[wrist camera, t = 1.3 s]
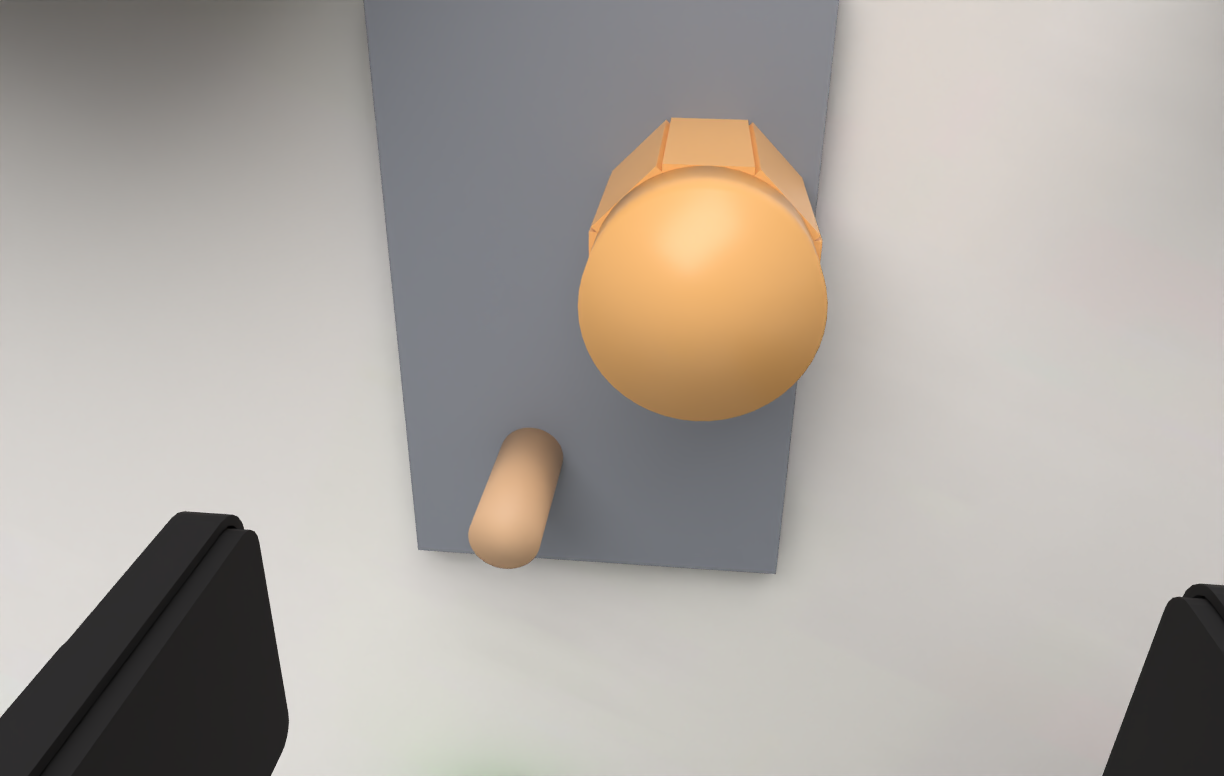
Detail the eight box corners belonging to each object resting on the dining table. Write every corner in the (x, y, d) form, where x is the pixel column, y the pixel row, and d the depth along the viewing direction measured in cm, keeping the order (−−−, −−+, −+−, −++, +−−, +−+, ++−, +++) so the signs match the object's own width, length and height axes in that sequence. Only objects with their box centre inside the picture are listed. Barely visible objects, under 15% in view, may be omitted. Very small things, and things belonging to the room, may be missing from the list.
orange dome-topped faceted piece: (809, 122, 25) (841, 194, 19) (790, 307, 27) (813, 428, 21) (610, 115, 25) (577, 185, 19) (608, 299, 28) (578, 414, 21)
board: (835, -24, 24) (867, -4, 19) (773, 551, 33) (784, 671, 27) (375, -32, 25) (290, -16, 20) (427, 529, 33) (376, 640, 28)
